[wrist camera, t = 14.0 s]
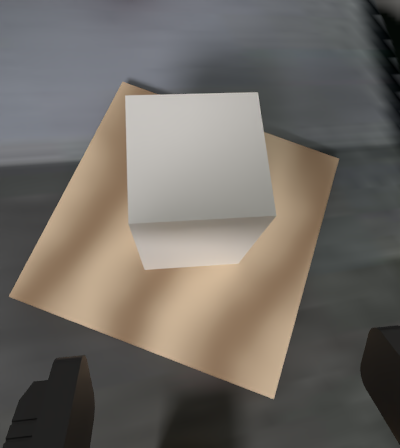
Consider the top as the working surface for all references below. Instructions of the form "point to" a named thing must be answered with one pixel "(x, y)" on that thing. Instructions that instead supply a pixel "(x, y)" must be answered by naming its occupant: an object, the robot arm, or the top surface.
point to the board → (185, 276)
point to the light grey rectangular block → (196, 178)
